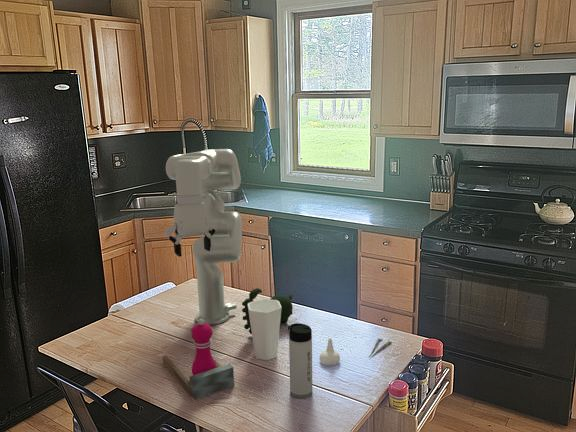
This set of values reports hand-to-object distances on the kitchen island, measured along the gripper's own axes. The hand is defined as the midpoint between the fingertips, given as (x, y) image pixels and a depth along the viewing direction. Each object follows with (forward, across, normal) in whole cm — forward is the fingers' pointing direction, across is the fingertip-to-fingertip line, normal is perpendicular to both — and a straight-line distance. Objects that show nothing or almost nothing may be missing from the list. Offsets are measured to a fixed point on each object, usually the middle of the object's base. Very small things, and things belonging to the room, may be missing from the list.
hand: (193, 252), depth 161 cm
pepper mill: (+34, +7, +20) cm, 40 cm away
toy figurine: (+34, -27, +1) cm, 43 cm away
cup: (+34, -16, +16) cm, 40 cm away
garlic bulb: (+34, -30, +31) cm, 55 cm away
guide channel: (+33, +7, +14) cm, 37 cm away
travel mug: (+34, -13, +40) cm, 54 cm away
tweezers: (+34, -46, +35) cm, 67 cm away
